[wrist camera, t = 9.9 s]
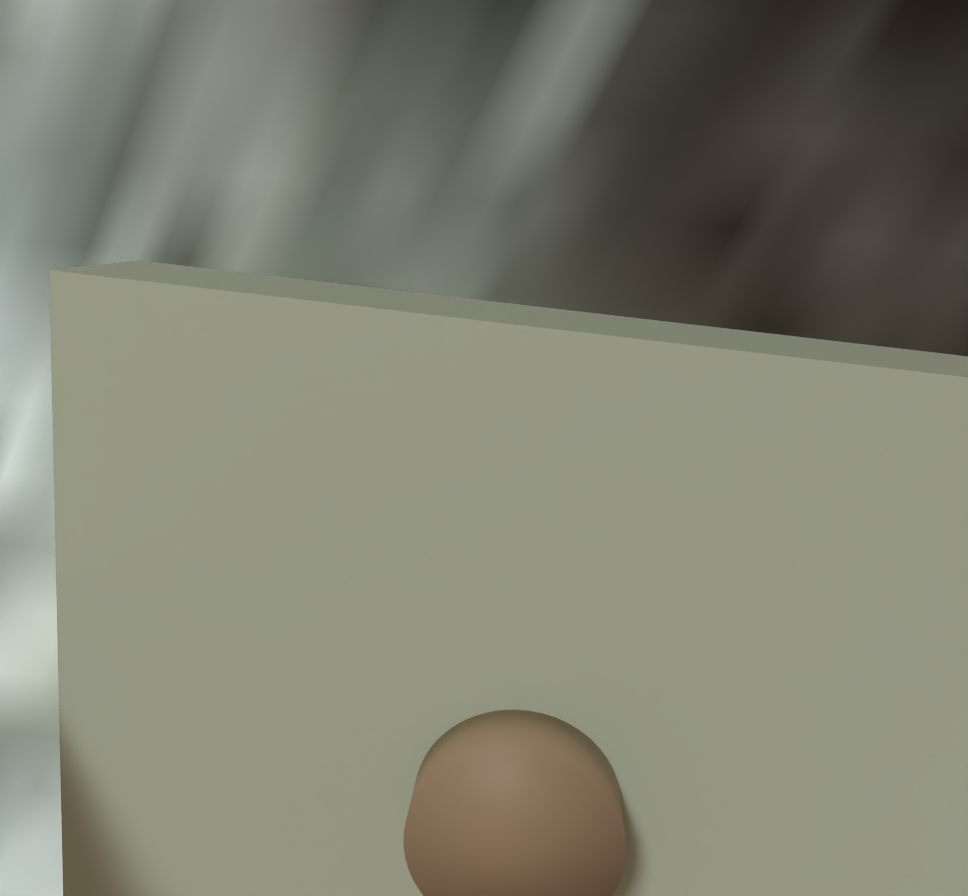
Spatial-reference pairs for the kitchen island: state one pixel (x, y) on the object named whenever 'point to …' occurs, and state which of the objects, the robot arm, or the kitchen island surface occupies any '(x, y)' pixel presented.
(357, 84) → the kitchen island surface
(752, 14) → the kitchen island surface
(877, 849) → the lid
